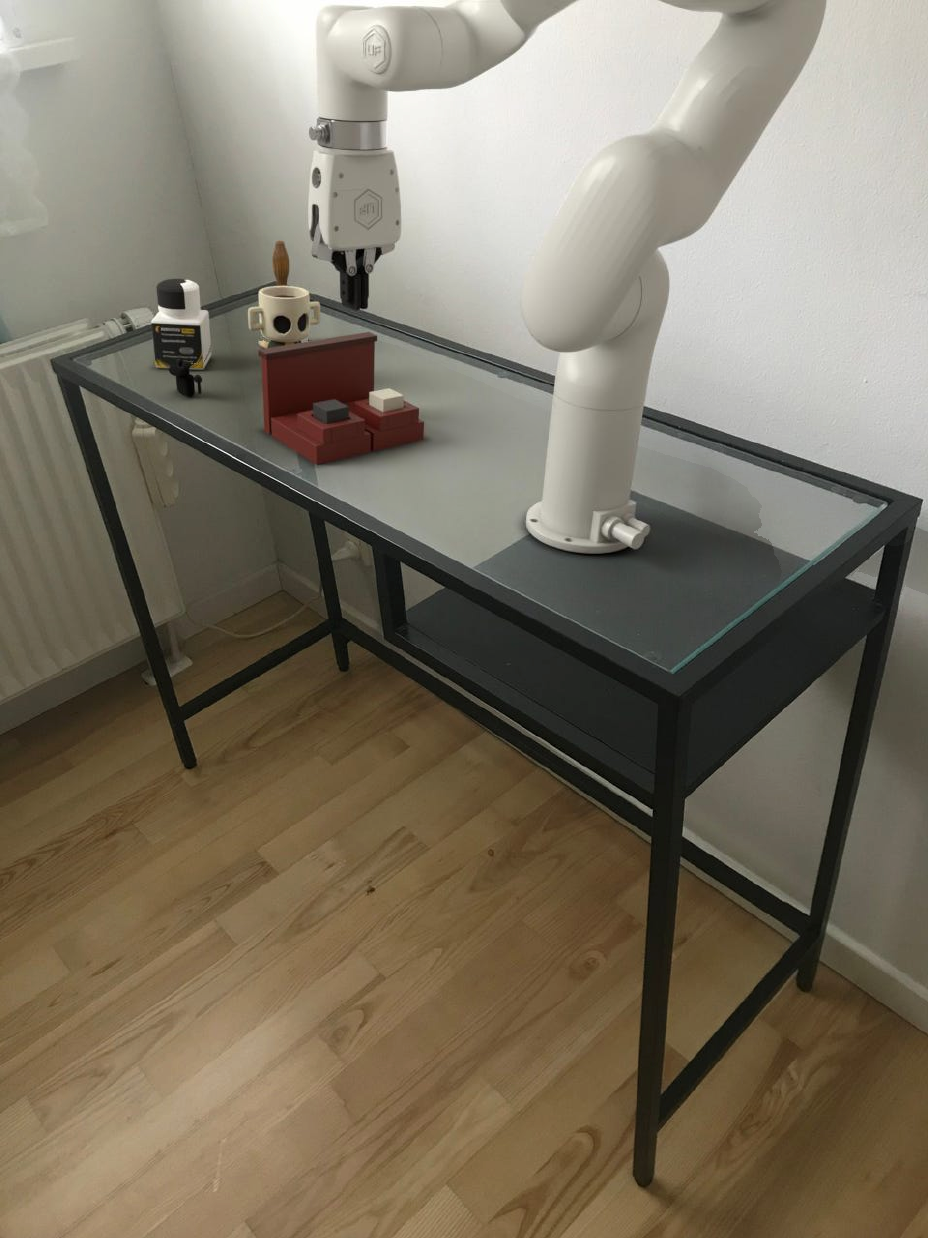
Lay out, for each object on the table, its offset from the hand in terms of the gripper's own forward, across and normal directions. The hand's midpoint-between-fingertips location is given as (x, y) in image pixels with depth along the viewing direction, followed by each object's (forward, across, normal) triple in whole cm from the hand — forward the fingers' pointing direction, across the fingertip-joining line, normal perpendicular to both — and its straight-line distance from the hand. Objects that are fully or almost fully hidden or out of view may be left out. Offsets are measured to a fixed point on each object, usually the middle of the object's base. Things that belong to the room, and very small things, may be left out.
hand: (354, 306), depth 123 cm
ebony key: (+14, -2, +2) cm, 14 cm away
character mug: (+18, +6, +27) cm, 33 cm away
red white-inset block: (+18, +6, +4) cm, 20 cm away
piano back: (+18, +2, +11) cm, 21 cm away
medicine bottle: (+18, -2, +42) cm, 46 cm away
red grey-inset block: (+18, -2, +4) cm, 19 cm away
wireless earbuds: (+18, -9, +29) cm, 35 cm away
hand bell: (+18, +16, +43) cm, 49 cm away
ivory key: (+14, +6, +2) cm, 15 cm away
